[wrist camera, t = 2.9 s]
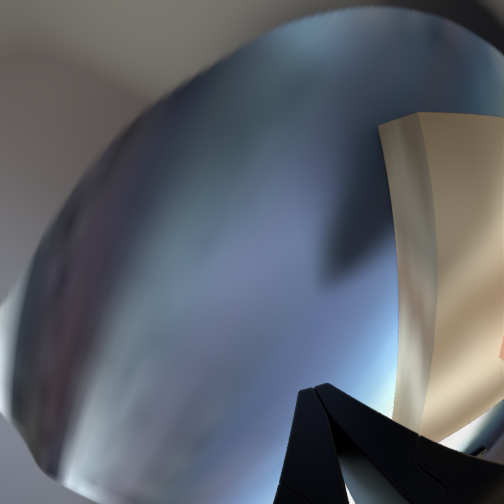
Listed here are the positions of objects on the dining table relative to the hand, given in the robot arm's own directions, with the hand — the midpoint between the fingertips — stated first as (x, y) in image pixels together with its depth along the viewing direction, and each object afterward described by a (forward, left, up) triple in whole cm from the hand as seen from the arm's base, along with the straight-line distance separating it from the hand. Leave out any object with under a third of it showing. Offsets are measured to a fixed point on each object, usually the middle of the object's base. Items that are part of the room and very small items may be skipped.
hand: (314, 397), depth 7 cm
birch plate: (0, -13, -3) cm, 14 cm away
